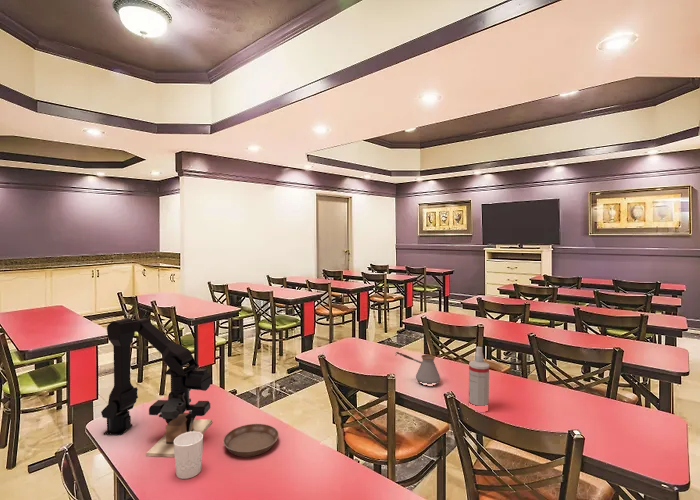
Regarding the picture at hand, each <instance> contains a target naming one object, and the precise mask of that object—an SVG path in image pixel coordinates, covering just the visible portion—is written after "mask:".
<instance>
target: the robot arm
mask: <svg viewBox="0 0 700 500" xmlns="http://www.w3.org/2000/svg"><path fill="white" fill-rule="evenodd" d="M106 333H107V338H108V339H107V340H109V342H110V343H111V344H112V346H113V388H112V390H111V392H110V393H109V395H108V401H107V402H108V404H107V405H106V406H105V407H104V408H103V409H102V410H101V411H100V412H101V416H102V418H103V419H106V430H105V431H104V432H103V435H118V436H120V435H123V434H124V433H125V432H127V430H129V429H130V428H131V427H133V423H131V421H132V419H131V414H130V410H132V409H133V408H134V406H135V403H137V399H138V398H139V396H138V390H139V389H138V387H134V386H133V384H132V383H131V343H132V340H133V339H134V337H135V333H138V335H140V336H141V337H142V338H143V339H145V341H146V342H147V343H149V344H150V345H151V346H152V347H153V348H154V349H156V351H158V352H159V353H160V354H161V357H162V360H163V362H164V363H165V365H166V366H167V367H168V369H167V370H166V371H165V372H164V374H165V375H166V376H167V375H169V376H170V392H168V394H167V395H168V397H167V399H158V400H156V401H155V402H154V403H153V404H151V405H150V407H149V408H148V415H149V416H158V417H159V418H162V419H163V420H165V422H166V425H167V424H168V423H169V422H170V421H171V420H172V419H176V418H177V417H178V415H179V414H183V413H186V412H187V411H188V413H189V414H188V415H187V416H186V419H187V432H190V429H191V427H192V424H193V421H194V419H196V417H203V416H205V415H206V414H207V413H208V411H210V410H211V403H210V401H209V400H198V401H196V403H193V404H190V403H191V402H192V398H190V391H191V390H195V391H204V392H205V391H207V390H208V389H210V386H211V384H212V378H213V377H212V376H211V373H209V372H208V368H199V364H198V362H197V361H196V359H195V358H194V356H193V353H192V351H191V350H190V349H188V347H186V346H183V345H182V344H179V343H175V342H174V341H172V340H171V339H170V338H169V336H166V334H164V333H163V332H162V331H161V330H160V329H159V328H157V327H156V326H155V325H154V324H153V323H152V322H151V320H150V319H149V318H146V317H144V318H135V319H132V318H130V317H124V318H121V319H117V320H114V321H111V322H110V323H109V324H107V326H106ZM183 367H184V368H183Z"/></svg>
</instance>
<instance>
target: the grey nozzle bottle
mask: <svg viewBox="0 0 700 500" xmlns="http://www.w3.org/2000/svg"><path fill="white" fill-rule="evenodd" d="M484 360H485V359H484V353H483V347H482V346H476V350H475V354H474V360H470V361H469V363H468V404H469V403H470V404H472V405H475V406H485V405H488V403H490V395H489V394H490V364H489V363H488V362H487V361H484Z"/></svg>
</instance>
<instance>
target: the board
mask: <svg viewBox="0 0 700 500" xmlns="http://www.w3.org/2000/svg"><path fill="white" fill-rule="evenodd" d="M193 422H194V430H193V431H192V432H200V433H202V434H203V435H204V433H205V432H206V431H207V430H208V428H209V427H210V425H211V424H212V423H213V419H209V418H208V419H207V418H206V419H201V418H200V419H199V418H195V419H194V421H193ZM145 456H146V457H154V458H155V457H156V458H157V457H158V458H160V457H164V458H167V457H168V458H175V455H174V444H166V433H165V434H164V435H163V436H162V437H161V438H160V439H158V441H156V443H155V444H154V445H153V446H152V447H150V448H149V450H148V451H147V452H146V453H145Z"/></svg>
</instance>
